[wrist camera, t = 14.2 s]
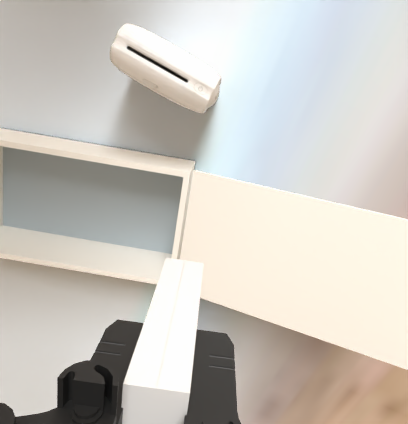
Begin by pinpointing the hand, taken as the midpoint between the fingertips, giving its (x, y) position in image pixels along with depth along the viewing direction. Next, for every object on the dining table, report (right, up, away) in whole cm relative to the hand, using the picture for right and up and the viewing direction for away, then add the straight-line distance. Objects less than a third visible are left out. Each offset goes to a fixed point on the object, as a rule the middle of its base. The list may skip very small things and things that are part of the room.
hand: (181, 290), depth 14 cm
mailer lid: (+10, -2, +18) cm, 21 cm away
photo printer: (-2, +19, +27) cm, 32 cm away
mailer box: (-13, +5, +31) cm, 34 cm away
